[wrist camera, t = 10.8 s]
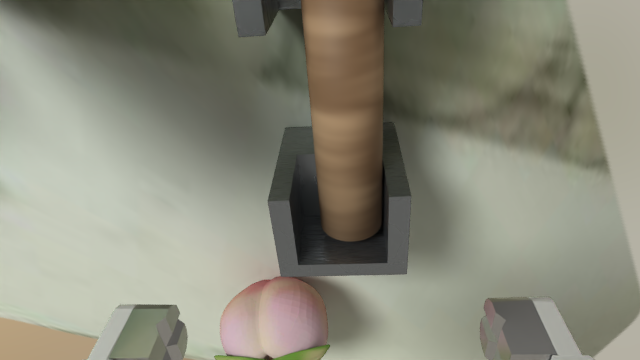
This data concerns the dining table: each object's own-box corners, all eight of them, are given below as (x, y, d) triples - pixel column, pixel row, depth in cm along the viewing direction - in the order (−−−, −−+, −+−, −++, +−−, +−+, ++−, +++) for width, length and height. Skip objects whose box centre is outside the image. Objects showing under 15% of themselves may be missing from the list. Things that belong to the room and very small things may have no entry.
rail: (336, -83, 21) (275, -75, 19) (404, -86, 18) (342, -77, 16) (348, 195, 30) (308, 223, 28) (394, 218, 28) (354, 250, 26)
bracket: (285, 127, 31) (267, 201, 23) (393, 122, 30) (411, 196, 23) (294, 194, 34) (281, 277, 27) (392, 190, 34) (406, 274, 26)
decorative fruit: (257, 319, 43) (238, 419, 35) (221, 264, 39) (189, 363, 31) (344, 301, 41) (345, 403, 33) (315, 242, 37) (308, 341, 29)
